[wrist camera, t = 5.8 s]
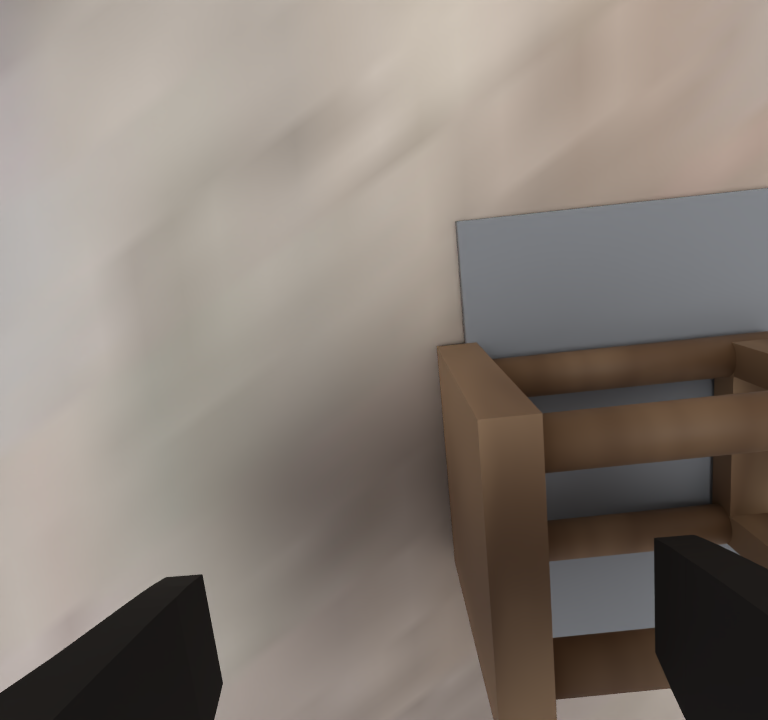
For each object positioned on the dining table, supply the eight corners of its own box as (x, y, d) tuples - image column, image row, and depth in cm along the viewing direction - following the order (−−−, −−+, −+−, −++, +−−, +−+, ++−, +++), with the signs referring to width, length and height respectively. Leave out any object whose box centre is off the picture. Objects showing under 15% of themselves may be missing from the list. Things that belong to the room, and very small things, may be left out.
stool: (454, 561, 16) (747, 531, 16) (500, 747, 10) (959, 702, 10) (436, 346, 15) (753, 313, 15) (477, 420, 9) (999, 366, 9)
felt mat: (788, 621, 17) (798, 631, 16) (488, 643, 17) (490, 653, 17) (808, 184, 14) (819, 182, 14) (455, 221, 15) (456, 221, 14)
